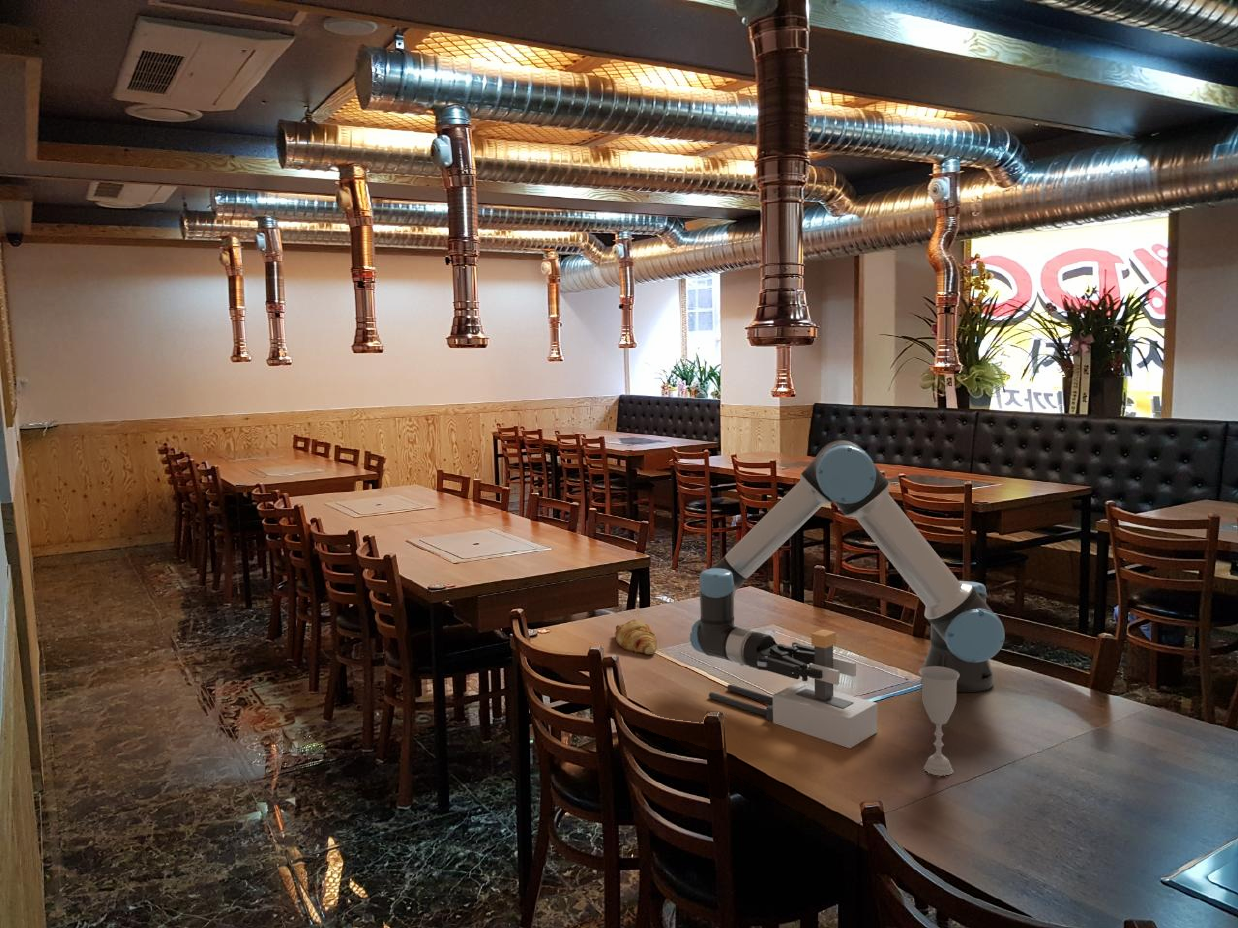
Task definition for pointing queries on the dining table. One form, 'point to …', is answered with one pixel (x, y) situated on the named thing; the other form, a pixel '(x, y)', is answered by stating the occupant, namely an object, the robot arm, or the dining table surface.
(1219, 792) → the dining table surface
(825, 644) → the lever
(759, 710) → the grey u-shaped fork
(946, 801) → the dining table surface
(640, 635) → the croissant
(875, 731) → the box
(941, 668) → the chalice
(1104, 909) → the dining table surface
